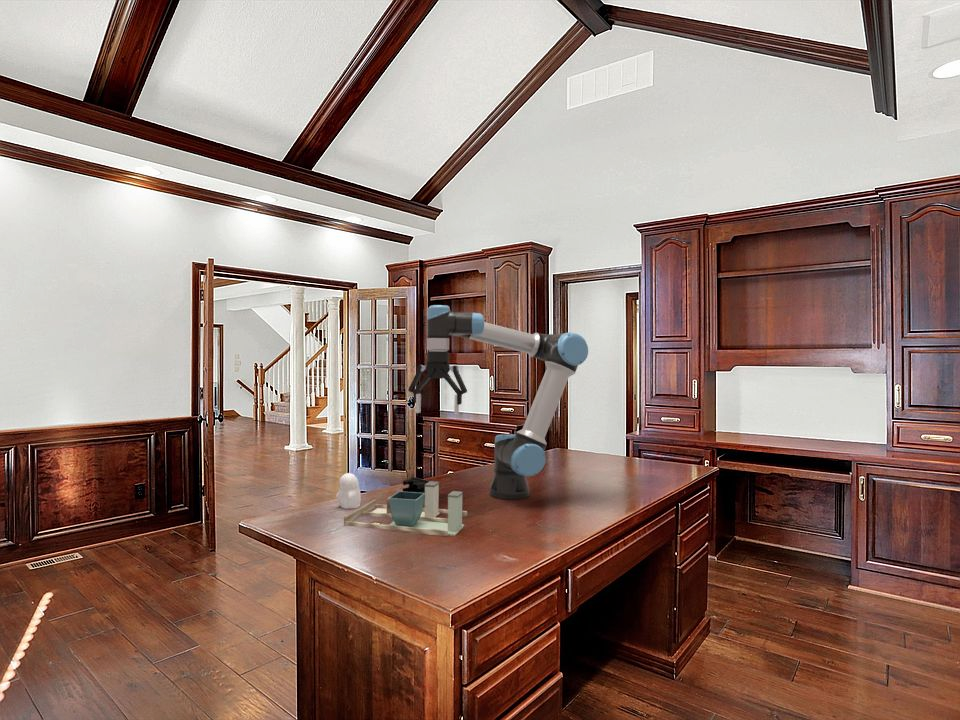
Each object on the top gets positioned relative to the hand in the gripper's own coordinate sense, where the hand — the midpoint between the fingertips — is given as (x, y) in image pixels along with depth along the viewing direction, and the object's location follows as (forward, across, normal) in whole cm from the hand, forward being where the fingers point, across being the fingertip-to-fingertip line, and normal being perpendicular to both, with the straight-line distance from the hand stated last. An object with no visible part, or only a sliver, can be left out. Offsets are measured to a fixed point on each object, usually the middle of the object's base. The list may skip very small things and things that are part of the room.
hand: (437, 413), depth 190 cm
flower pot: (+32, +3, +20) cm, 38 cm away
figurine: (+33, +29, +6) cm, 44 cm away
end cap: (+33, +12, -15) cm, 38 cm away
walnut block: (+32, +11, +9) cm, 35 cm away
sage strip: (+33, -3, +20) cm, 38 cm away
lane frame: (+33, +4, +15) cm, 36 cm away
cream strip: (+33, +8, +9) cm, 35 cm away
